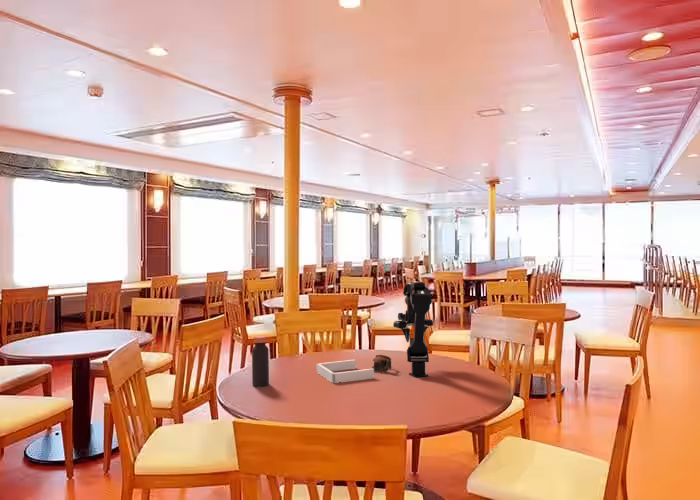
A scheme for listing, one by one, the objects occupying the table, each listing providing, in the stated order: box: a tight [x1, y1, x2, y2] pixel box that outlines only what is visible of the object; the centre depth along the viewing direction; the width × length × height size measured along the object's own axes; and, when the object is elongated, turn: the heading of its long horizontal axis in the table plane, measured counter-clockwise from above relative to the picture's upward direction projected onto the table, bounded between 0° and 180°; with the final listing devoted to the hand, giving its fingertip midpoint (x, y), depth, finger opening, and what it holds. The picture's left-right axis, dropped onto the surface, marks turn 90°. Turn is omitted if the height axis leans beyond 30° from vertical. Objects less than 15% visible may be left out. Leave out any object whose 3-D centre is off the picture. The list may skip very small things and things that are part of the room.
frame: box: [315, 359, 375, 384], centre depth 221 cm, size 20×19×4 cm
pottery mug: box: [371, 354, 392, 373], centre depth 229 cm, size 12×10×8 cm
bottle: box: [251, 335, 270, 387], centre depth 207 cm, size 7×7×20 cm
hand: (413, 341), depth 236 cm, fingers open, 6 cm apart
